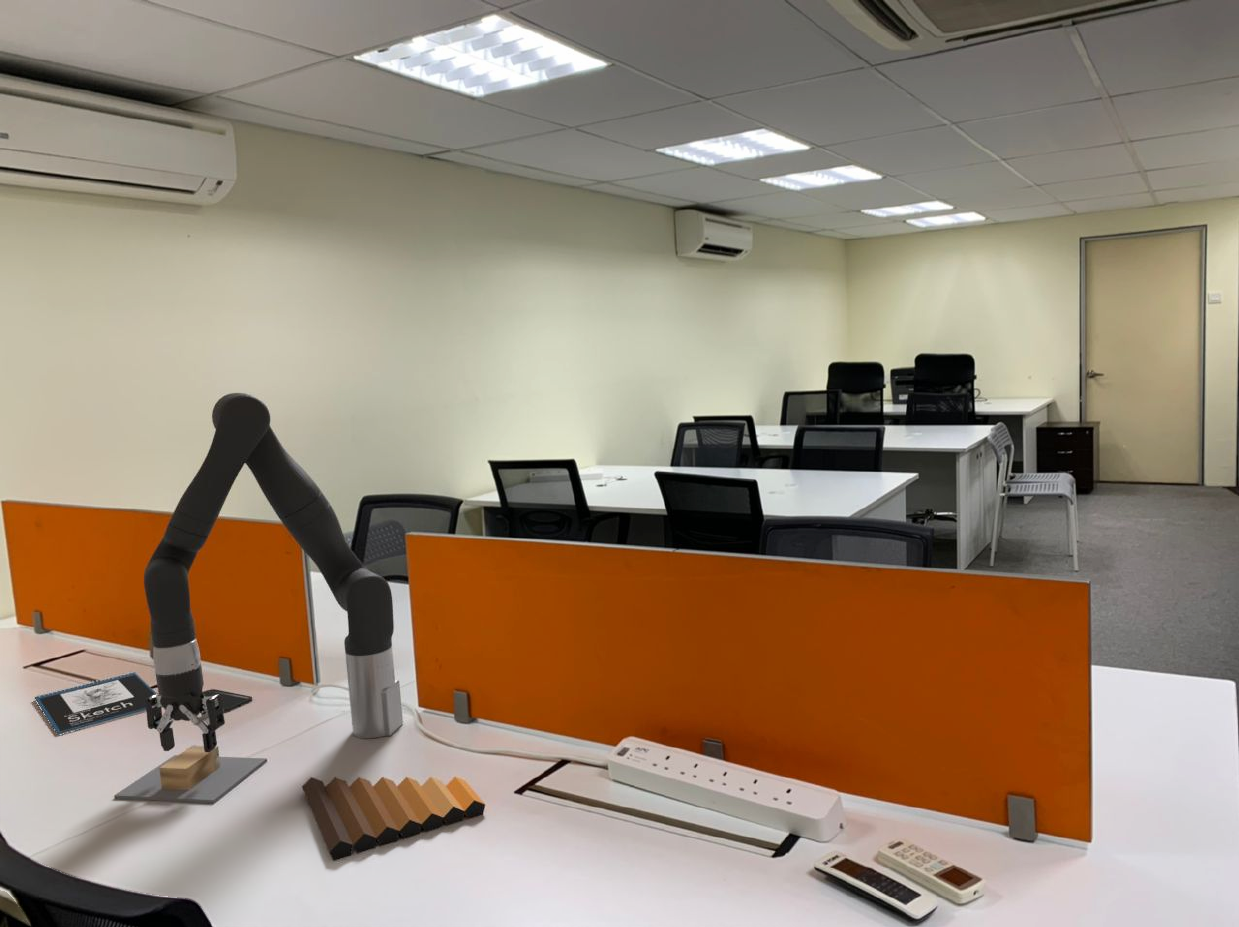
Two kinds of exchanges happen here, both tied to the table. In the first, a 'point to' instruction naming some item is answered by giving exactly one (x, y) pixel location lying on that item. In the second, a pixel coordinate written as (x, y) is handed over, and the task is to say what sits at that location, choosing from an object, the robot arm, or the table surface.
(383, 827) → the ridged wooden panel
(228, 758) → the mat
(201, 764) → the block
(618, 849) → the table surface
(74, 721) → the sketchbook
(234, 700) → the phone
